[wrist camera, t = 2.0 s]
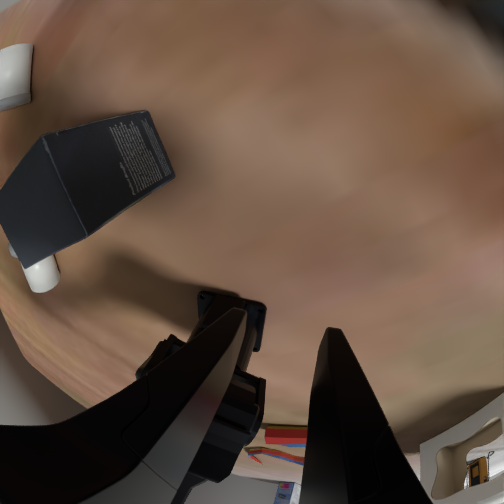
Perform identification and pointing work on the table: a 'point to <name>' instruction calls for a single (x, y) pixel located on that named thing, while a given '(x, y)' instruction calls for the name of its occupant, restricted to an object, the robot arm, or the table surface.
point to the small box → (80, 183)
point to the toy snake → (283, 442)
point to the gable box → (462, 459)
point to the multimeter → (478, 471)
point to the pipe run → (7, 97)
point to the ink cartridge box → (287, 493)
